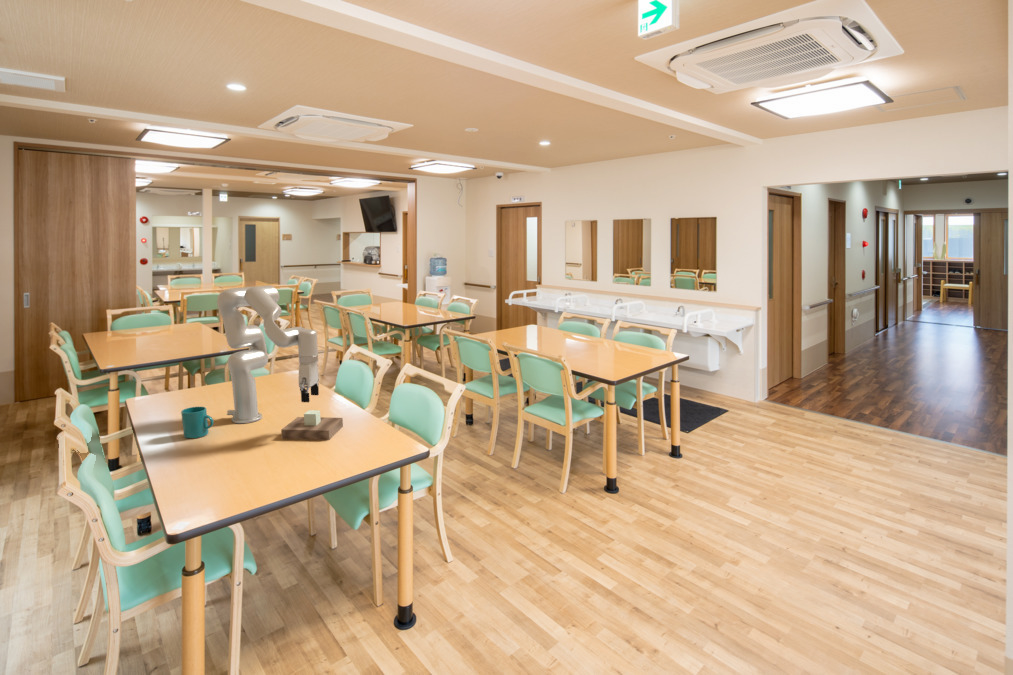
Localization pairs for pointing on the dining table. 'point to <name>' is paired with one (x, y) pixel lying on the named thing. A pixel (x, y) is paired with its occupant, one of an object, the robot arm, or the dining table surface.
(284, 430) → the walnut plinth
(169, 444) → the dining table surface
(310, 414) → the sage cube
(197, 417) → the cup
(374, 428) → the dining table surface
